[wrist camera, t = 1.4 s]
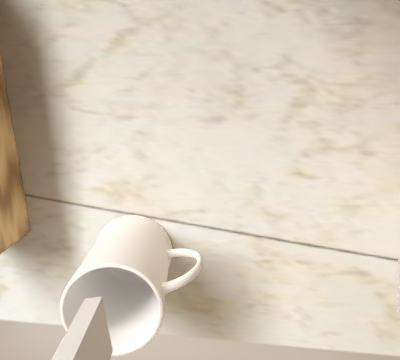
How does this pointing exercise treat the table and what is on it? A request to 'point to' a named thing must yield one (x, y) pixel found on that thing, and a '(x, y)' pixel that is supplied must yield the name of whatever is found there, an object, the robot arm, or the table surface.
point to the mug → (128, 280)
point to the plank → (10, 178)
